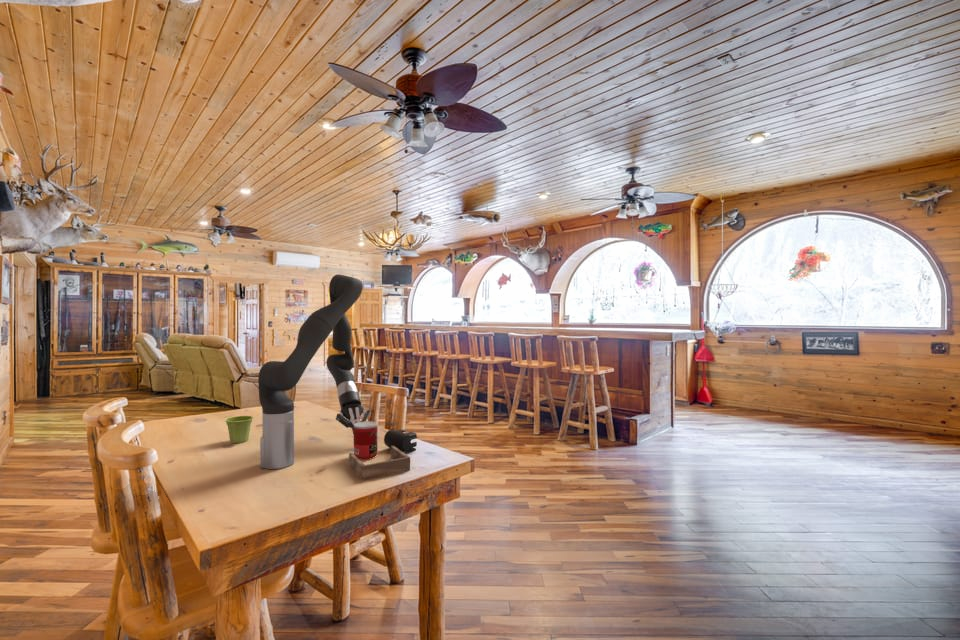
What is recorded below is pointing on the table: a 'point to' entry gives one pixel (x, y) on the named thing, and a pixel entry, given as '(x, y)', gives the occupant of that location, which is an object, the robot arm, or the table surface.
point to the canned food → (365, 439)
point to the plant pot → (239, 428)
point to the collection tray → (381, 465)
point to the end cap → (401, 440)
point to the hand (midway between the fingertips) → (358, 435)
